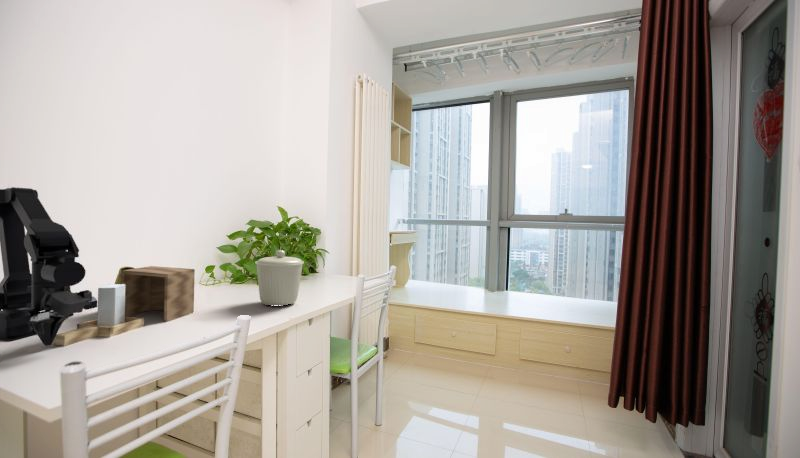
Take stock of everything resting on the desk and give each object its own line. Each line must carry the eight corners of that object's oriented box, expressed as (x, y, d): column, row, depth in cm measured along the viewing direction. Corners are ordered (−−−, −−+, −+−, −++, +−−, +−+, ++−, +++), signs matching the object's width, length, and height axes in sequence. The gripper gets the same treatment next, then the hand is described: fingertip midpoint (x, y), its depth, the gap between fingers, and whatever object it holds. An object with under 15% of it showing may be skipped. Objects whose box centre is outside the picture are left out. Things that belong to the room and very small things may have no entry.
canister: (279, 296, 147) (281, 247, 146) (312, 302, 138) (314, 250, 138) (243, 305, 130) (244, 249, 130) (278, 312, 122) (279, 253, 122)
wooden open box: (166, 321, 107) (167, 274, 107) (120, 317, 110) (121, 270, 110) (193, 312, 118) (194, 269, 118) (150, 308, 121) (151, 266, 121)
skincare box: (107, 324, 101) (109, 284, 101) (124, 324, 102) (126, 283, 102) (96, 331, 95) (97, 287, 95) (114, 330, 96) (116, 287, 96)
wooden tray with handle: (77, 347, 85) (78, 337, 85) (41, 342, 87) (42, 332, 87) (143, 327, 103) (144, 318, 103) (112, 323, 105) (113, 315, 105)
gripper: (27, 291, 72) (26, 364, 73) (115, 277, 91) (114, 335, 91) (-14, 287, 74) (-14, 358, 75) (80, 274, 93) (79, 331, 93)
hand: (48, 345), depth 84 cm, fingers closed
